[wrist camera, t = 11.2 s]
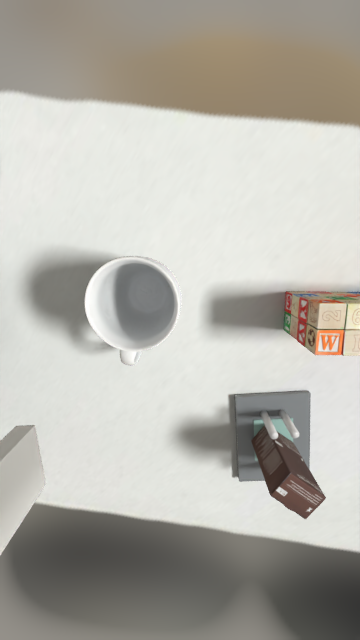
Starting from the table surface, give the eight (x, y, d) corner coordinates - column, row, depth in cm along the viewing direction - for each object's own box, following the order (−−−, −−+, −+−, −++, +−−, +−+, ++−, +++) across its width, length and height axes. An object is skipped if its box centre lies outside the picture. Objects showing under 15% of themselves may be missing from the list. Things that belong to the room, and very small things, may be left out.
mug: (172, 355, 47) (165, 391, 34) (106, 342, 47) (74, 373, 34) (189, 264, 44) (188, 266, 31) (119, 250, 44) (89, 246, 31)
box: (294, 440, 48) (328, 499, 36) (276, 458, 48) (304, 522, 37) (266, 420, 47) (291, 473, 35) (249, 439, 48) (267, 498, 36)
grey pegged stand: (238, 477, 51) (245, 510, 44) (234, 394, 48) (241, 417, 41) (306, 474, 50) (325, 508, 43) (307, 390, 47) (327, 412, 40)
